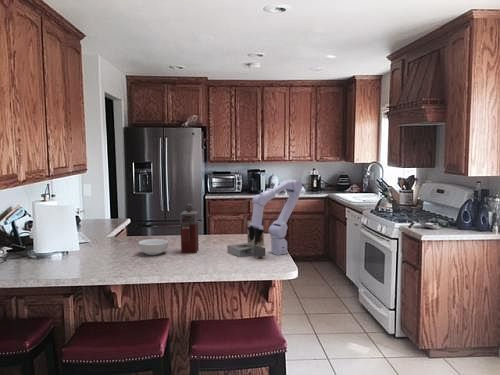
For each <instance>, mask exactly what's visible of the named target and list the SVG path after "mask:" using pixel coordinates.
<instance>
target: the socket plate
mask: <svg viewBox="0 0 500 375" xmlns="http://www.w3.org/2000/svg"><path fill="white" fill-rule="evenodd" d="M255 247H257V246H254V245H251V244H248V242H245V243H244V242H243V243H237V244H229V245H228V244H227V251H226V252H227V253H228V254H230V253H231V255H234V256H235V257H238V258H243V257H249V256H250V257H251V256H254V248H255Z"/></svg>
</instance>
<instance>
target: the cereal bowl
mask: <svg viewBox="0 0 500 375" xmlns="http://www.w3.org/2000/svg"><path fill="white" fill-rule="evenodd" d="M168 246H169V240H167V239H161V238H160V239H159V238H157V239H156V238H152V239H150V238H149V239H143V240H140V241H138V249H139V250H140V252H142V253H144V254H146V255H148V256H156V255H157V254H158V255H160V254H162V253H164V252H165V251H166V250H167V249H168V248H169V247H168Z"/></svg>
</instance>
